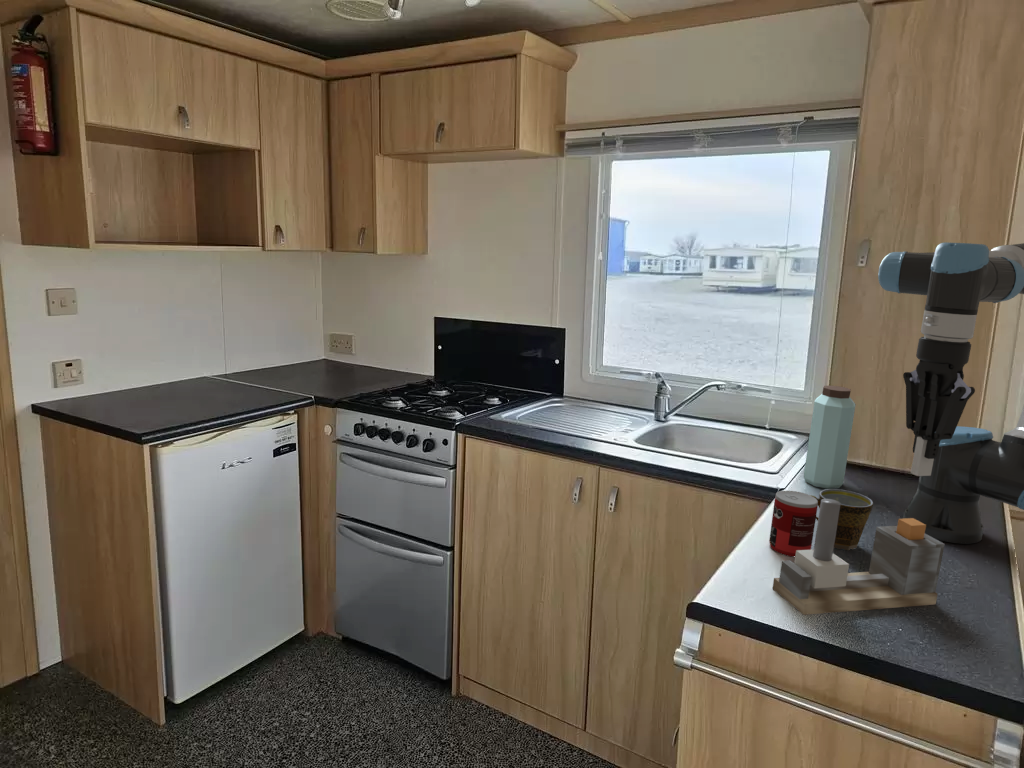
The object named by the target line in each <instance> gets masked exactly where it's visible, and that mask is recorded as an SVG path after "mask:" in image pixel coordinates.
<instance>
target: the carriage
mask: <svg viewBox="0 0 1024 768" xmlns="http://www.w3.org/2000/svg"><path fill="white" fill-rule="evenodd" d="M840 504H841V503H840V502H838V501H836V500H832V499H822V500H821V505H820V508H819V512H818V521H817V524H816V525H817V526H816V532H815V539H814V545H813V549H811V550H796V555H795V557H794V562H793V563H794V564H796V565H797V566H798V567H799V568H801V569H802V570H803V571H805V572H806V573H807V574H809V575H810V576H811V583H810V585H811V586H812V587H813V588H828V587H842V586H846V581H847V575H848V573H849V569H850V563H848V562H846V561H845V560H843V559H842V558H841V557H840V556H838V555H836V554H835V553H834V549H835V548H834V542H835V536H836V530H837V523H838V517H839V511H840Z"/></svg>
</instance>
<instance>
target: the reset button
mask: <svg viewBox="0 0 1024 768" xmlns="http://www.w3.org/2000/svg"><path fill="white" fill-rule="evenodd" d="M897 520H898V521H897V525H896V526H897V531H896V533H897V534H899V535H901V536H902V537H904V538H906V539H908V540H919V539H924V534H925V528H926V525H925V524H923V523H921V522H920V521H918V520H916V519H914V518H905V519H903V518H898V519H897Z"/></svg>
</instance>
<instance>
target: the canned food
mask: <svg viewBox="0 0 1024 768" xmlns="http://www.w3.org/2000/svg"><path fill="white" fill-rule="evenodd" d="M812 496H813V495H812ZM812 496H810V494H807V493H804V492H800V491H797V490H779V491H777V492H776V493H775V497H774V502H773V508H772V509H773V511H772V517H771V525H770V532H769V533H770V534H769V540H768V542H769V546H770V548H771V549H772V550H773V551H775V552H777V553H778V554H781V555H783V554H784V556H787V555H788V556H787V557H791V556H795V555H796V550H812V546H813V545H812V543H813V538H814V532H815V525H816V520H817V519H816V517H817V513H818V508H819V506H818V501H817V499H816V498H817V497H816V498H814V497H812Z"/></svg>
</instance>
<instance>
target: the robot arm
mask: <svg viewBox="0 0 1024 768" xmlns="http://www.w3.org/2000/svg"><path fill="white" fill-rule="evenodd" d="M877 275H878V277H877V279H878V283H879V286H880V287H881V289H883V290H884V291H887V292H890V293H891V292H892V293H897V294H906V295H919V296H926V299H925V300H926V301H925V305H924V310H923V315H922V316H923V317H922V321H921V328H920V333H921V334H922V335H923V336H921V337H920V338H919V339H918V342H917V347H916V358H917V359H918V360H919V361H918V363H917V364H916V368H915V369H914V370H912V371H910V372H908V371H906V372H903V373H902V374H903V375H902V376H903V380H904V383H905V424H906V427H905V428H907V429H908V430H911V431H912V433H913V435H914V438H913V439H914V440H913V444H912V445H913V446H912V453H913V459H912V463H911V469H910V474H912V475H914V476H916V477H919V478H918V485H917V490H916V491H915V493H914V495H913V496H912V498H911V500H910V502H909V504H908V506H907V507H906V508H905V509H904V512H903V517H902V519H905V518H914V519H916V520H918V521H920V522H921V523H923V524H925V525H926V528H925V534H927V535H929V536H931V537H933V538H934V539H936V540H938V541H940V542H946V543H951V544H952V543H953V544H963V545H965V544H967V545H969V544H976V543H979V542H981V540H983V534H984V526H983V524H982V517H981V516H982V515H981V508H980V500H981V496H982V497H985V498H988V499H991V500H993V501H994V500H995V501H996V502H997V501H998V502H1001V503H1004V504H1006V505H1009V506H1012V507H1015V508H1018V509H1019V510H1023V511H1024V405H1023V406H1022V410H1021V412H1020V415H1019V418H1018V420H1017V423H1016V426H1015V428H1013V429H1011V430H1009V431H1007V432H1004V433H1003V436H1002V439H1001V441H997V440H993V439H994V435H993V432H992V431H990V430H988V429H985V428H980V427H971V426H960V425H959V422H960V419H961V417H962V414H963V413H964V410H965V408H966V405H967V403H968V401H969V400H970V398H971V397H972V396H973V395H974V394H975V392H976V389H975V387H974V386H968V384H967V383H966V382H965V381H964V378H965V374H964V367H965V365H967V364H968V363H969V360H970V354H971V351H972V350H971V349H972V344H971V342H970V341H969V340H971V339H973V338H974V335H975V334H974V333H975V327H976V322H977V317H978V313H979V312H978V311H979V306H980V303H992V304H996V303H999V302H1005V301H1009V300H1012V299H1013V298H1016V297H1017V296H1018V295H1024V242H1023V243H1016V244H1015V243H1014V244H1004V245H999V246H996V247H993V248H992V249H991V250H990V249H989V247H988V246H987V245H986V244H982V243H972V242H970V243H967V242H949V241H948V242H947V241H946V242H941V243H939V244H937V246H936V247H935V251H934V252H933V251H932V252H910V251H909V252H908V251H907V250H906V251H892V252H890V253H888V254H887V255H885V256H884V258H883V259H882V260H881V263H880V264H879V268H878V274H877Z"/></svg>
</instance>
